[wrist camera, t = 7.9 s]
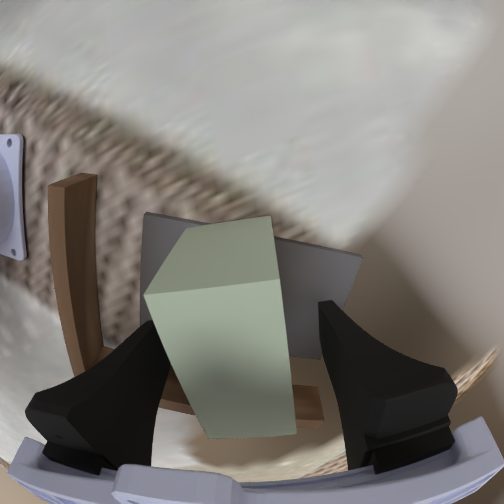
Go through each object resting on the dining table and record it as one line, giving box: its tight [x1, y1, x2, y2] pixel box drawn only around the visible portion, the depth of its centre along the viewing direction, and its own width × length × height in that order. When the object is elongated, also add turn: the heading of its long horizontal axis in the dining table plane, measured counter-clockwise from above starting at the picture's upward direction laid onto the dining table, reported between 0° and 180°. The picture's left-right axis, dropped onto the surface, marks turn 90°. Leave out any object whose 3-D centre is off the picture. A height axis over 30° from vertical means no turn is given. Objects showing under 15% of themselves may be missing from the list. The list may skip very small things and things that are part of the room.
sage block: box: [144, 216, 297, 439], centre depth 12 cm, size 4×8×6 cm, turn 9°
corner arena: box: [48, 173, 363, 429], centre depth 15 cm, size 16×12×3 cm
